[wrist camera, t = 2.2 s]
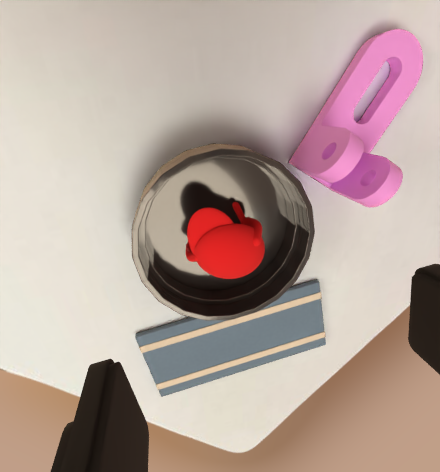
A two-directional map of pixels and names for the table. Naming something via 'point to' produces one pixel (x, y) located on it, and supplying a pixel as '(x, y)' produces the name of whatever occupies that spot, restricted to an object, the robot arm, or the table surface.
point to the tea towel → (233, 340)
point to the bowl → (252, 204)
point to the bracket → (362, 122)
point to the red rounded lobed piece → (224, 243)
